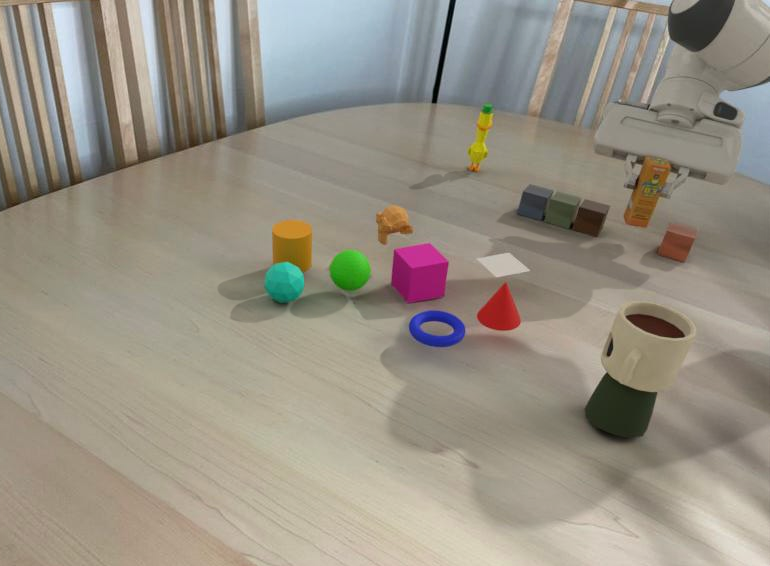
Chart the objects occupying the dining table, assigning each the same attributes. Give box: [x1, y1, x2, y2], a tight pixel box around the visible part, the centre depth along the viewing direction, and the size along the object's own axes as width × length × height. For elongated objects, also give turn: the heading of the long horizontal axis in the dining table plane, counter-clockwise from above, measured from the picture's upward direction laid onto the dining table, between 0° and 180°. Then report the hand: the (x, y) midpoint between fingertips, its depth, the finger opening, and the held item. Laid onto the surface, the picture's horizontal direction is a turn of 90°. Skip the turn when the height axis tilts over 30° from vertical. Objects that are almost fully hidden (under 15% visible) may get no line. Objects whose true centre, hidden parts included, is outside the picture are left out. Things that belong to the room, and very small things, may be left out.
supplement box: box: [623, 156, 671, 229], centre depth 112 cm, size 3×3×10 cm
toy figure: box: [467, 103, 494, 172], centre depth 134 cm, size 7×4×12 cm, turn 161°
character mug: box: [584, 300, 697, 439], centre depth 74 cm, size 11×7×13 cm, turn 140°
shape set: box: [263, 205, 531, 348], centre depth 94 cm, size 29×35×7 cm
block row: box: [516, 183, 698, 263], centre depth 117 cm, size 4×26×4 cm, turn 59°
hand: (646, 191), depth 111 cm, fingers closed on supplement box, 4 cm apart
